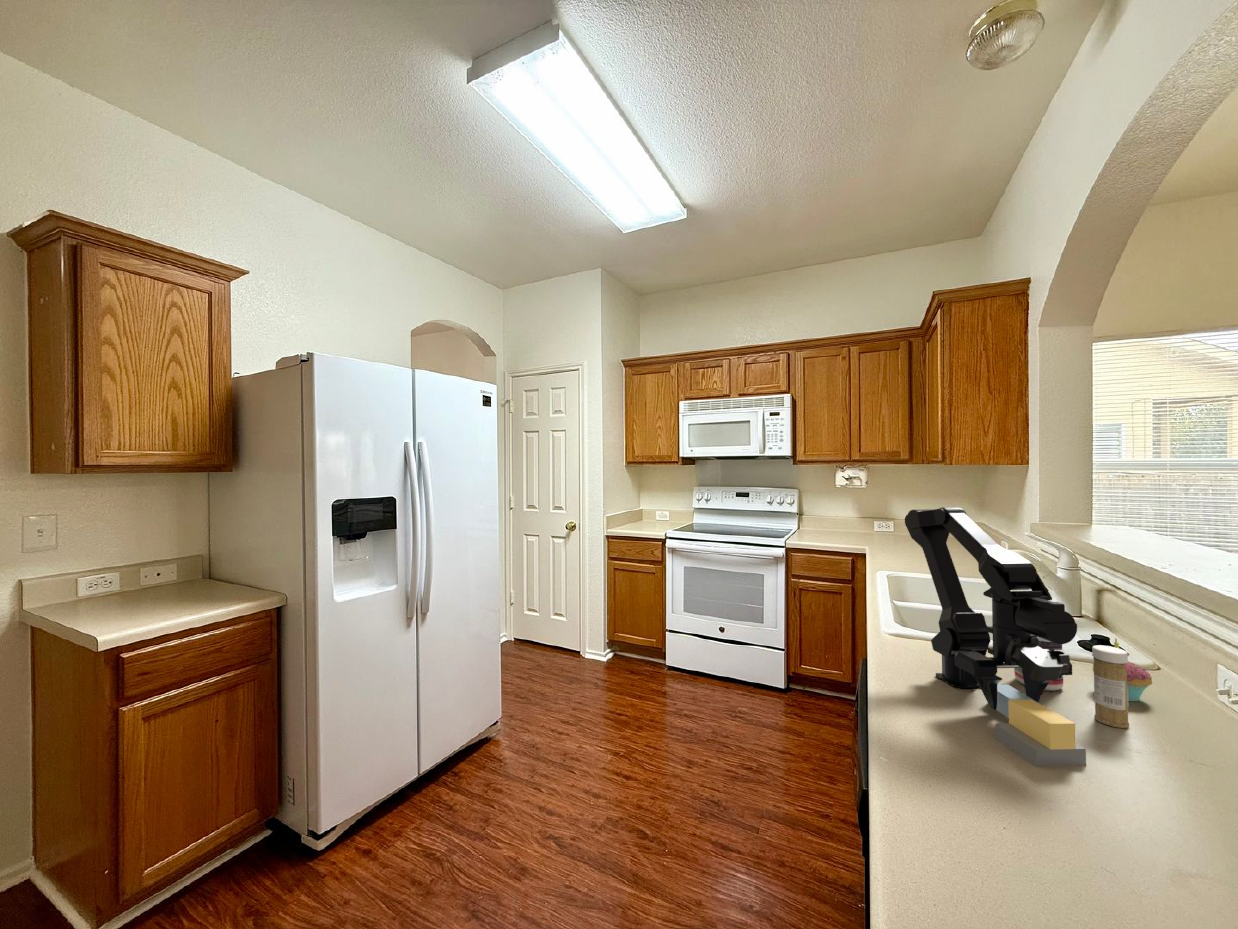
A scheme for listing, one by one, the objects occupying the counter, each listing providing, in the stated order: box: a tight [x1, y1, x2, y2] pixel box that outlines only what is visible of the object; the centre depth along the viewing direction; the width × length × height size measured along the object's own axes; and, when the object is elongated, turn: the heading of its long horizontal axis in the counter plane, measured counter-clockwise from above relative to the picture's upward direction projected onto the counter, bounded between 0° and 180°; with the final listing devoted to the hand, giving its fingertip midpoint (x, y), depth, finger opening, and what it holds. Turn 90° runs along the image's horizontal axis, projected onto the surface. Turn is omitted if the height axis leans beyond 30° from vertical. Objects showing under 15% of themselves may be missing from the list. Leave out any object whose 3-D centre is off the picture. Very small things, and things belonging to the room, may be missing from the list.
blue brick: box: [996, 684, 1042, 719], centre depth 93 cm, size 8×4×4 cm, turn 176°
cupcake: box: [1092, 638, 1153, 702], centre depth 100 cm, size 9×8×12 cm
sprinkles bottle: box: [1091, 644, 1130, 729], centre depth 89 cm, size 5×5×14 cm
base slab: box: [994, 722, 1087, 768], centre depth 80 cm, size 8×8×3 cm
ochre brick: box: [1008, 700, 1077, 750], centre depth 80 cm, size 8×4×4 cm, turn 1°
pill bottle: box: [1013, 637, 1064, 692], centre depth 105 cm, size 8×8×14 cm
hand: (1012, 708), depth 93 cm, fingers open, 7 cm apart
